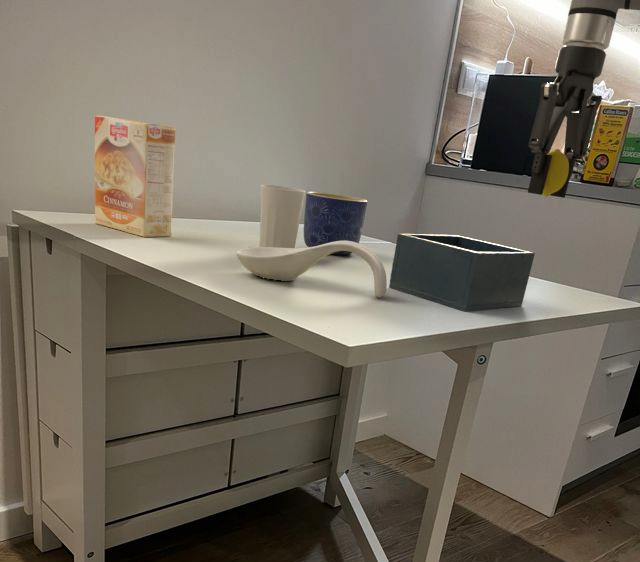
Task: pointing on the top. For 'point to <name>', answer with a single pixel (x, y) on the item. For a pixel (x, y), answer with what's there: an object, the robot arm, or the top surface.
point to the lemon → (556, 172)
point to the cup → (280, 215)
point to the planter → (333, 219)
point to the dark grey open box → (460, 271)
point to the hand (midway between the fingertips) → (546, 194)
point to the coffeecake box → (134, 176)
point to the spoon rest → (306, 261)
